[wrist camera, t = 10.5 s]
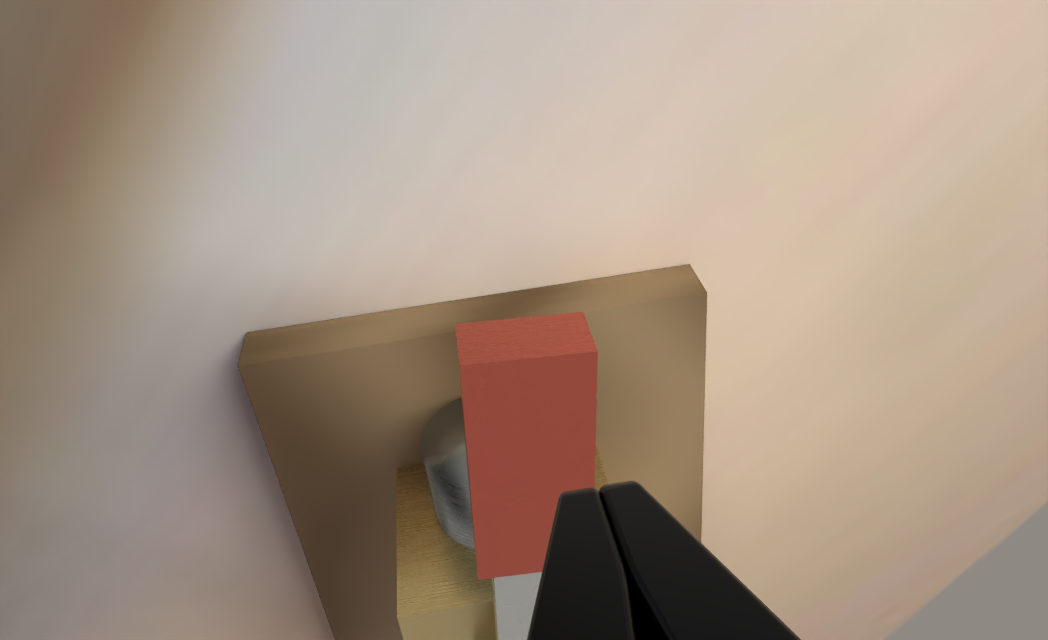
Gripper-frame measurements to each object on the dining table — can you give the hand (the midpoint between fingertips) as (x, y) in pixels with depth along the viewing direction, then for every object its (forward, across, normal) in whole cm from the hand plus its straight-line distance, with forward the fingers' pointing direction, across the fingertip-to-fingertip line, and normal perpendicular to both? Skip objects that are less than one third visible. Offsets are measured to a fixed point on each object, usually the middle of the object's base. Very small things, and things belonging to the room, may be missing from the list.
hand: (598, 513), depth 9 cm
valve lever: (+6, +1, +7) cm, 9 cm away
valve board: (+13, +1, +12) cm, 18 cm away
